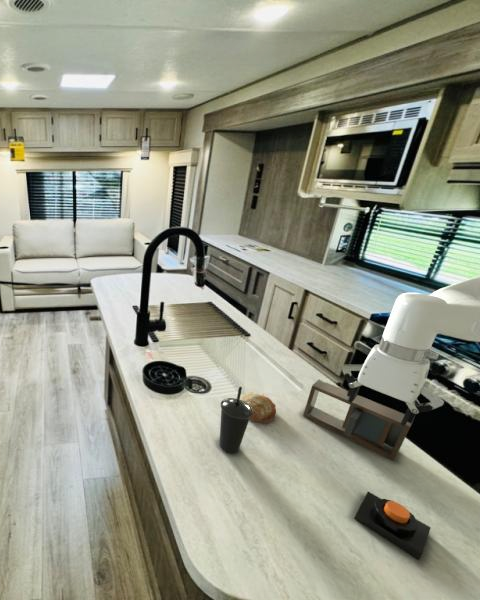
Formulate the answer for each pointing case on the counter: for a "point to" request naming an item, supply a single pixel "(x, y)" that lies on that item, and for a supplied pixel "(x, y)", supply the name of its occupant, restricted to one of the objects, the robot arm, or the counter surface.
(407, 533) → the control block
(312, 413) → the window frame
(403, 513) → the button
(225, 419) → the drinking cup
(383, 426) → the window sash
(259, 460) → the counter surface
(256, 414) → the bread roll
